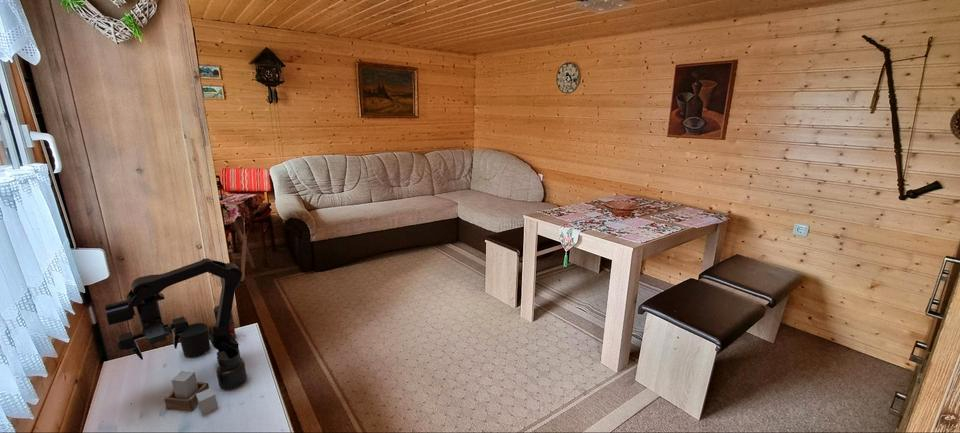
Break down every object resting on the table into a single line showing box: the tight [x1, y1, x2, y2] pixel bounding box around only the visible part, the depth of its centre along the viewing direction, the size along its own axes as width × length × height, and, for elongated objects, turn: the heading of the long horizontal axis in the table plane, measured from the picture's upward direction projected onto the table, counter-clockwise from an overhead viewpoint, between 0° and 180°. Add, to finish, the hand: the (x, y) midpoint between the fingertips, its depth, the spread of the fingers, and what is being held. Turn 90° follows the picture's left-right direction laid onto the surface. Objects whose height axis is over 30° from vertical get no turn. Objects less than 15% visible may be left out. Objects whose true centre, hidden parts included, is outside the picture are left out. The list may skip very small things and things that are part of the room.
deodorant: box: [213, 305, 237, 340], centre depth 168 cm, size 6×6×15 cm
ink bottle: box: [215, 348, 248, 391], centre depth 144 cm, size 10×9×12 cm
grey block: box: [196, 387, 219, 416], centre depth 134 cm, size 4×4×6 cm
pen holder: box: [178, 322, 211, 358], centre depth 161 cm, size 9×9×10 cm
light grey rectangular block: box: [170, 370, 199, 399], centre depth 136 cm, size 4×4×10 cm
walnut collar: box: [163, 381, 210, 412], centre depth 137 cm, size 9×9×4 cm
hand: (159, 353), depth 140 cm, fingers open, 9 cm apart
